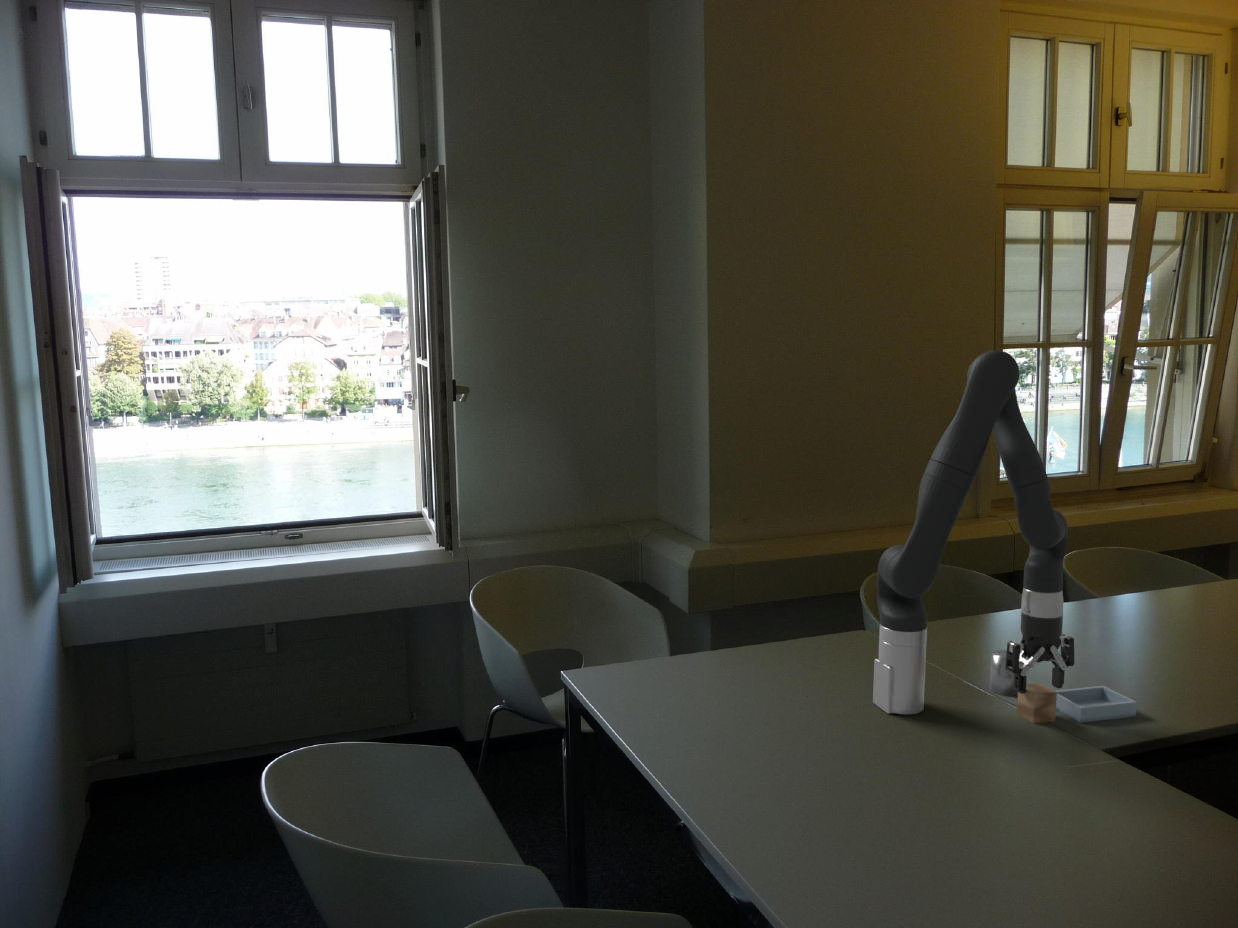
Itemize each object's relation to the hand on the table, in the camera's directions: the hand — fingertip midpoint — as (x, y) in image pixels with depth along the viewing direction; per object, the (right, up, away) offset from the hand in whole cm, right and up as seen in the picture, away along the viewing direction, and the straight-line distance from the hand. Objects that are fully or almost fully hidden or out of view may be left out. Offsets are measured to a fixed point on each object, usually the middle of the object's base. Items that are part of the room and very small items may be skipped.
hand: (1039, 689), depth 189 cm
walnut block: (-1, -6, 0) cm, 6 cm away
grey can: (-1, -4, +14) cm, 15 cm away
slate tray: (+12, -5, +3) cm, 13 cm away
